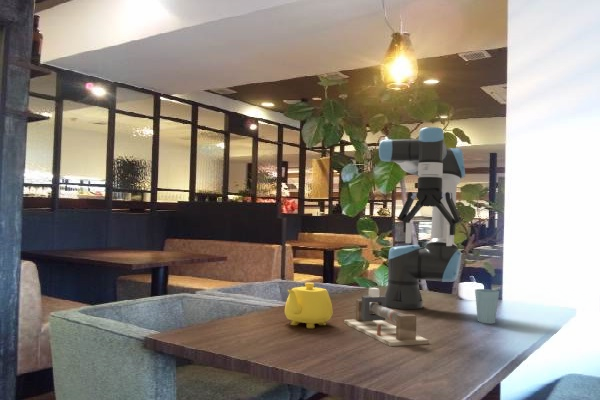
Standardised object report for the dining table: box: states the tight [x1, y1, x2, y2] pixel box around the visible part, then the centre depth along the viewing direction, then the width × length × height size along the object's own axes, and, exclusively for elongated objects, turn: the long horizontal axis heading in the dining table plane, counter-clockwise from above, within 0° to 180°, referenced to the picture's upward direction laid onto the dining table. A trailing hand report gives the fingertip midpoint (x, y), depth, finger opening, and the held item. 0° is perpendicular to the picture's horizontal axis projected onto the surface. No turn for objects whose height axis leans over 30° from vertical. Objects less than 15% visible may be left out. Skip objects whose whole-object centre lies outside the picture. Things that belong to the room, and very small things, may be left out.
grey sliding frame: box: [361, 287, 387, 321], centre depth 160 cm, size 2×7×10 cm, turn 110°
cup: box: [474, 288, 500, 324], centre depth 175 cm, size 8×8×10 cm
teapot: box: [284, 282, 334, 329], centre depth 161 cm, size 14×20×13 cm
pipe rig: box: [343, 298, 430, 347], centre depth 154 cm, size 29×12×8 cm, turn 20°
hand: (428, 244), depth 164 cm, fingers open, 13 cm apart
